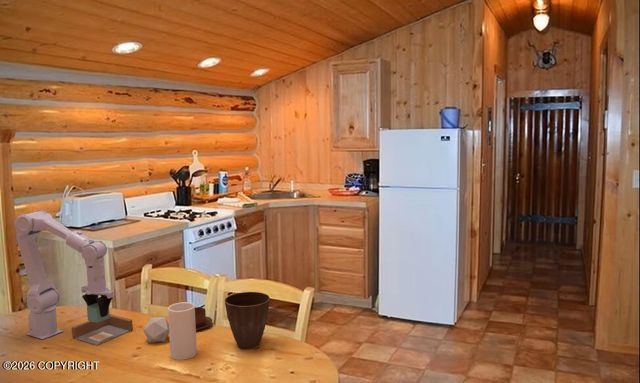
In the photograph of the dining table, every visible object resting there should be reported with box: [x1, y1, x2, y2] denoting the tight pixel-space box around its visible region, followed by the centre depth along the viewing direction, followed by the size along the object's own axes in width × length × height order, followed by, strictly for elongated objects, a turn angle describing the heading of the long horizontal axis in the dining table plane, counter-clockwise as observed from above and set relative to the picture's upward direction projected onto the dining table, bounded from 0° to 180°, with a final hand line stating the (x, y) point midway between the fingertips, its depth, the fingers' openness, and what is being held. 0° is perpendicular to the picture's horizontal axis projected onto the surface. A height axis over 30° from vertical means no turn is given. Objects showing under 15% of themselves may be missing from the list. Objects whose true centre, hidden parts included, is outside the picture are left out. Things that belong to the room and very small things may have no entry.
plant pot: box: [224, 291, 271, 350], centre depth 173 cm, size 15×15×16 cm
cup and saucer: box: [195, 306, 213, 331], centre depth 190 cm, size 12×12×6 cm
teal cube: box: [86, 303, 110, 323], centre depth 179 cm, size 5×5×5 cm
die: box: [142, 316, 169, 343], centre depth 178 cm, size 8×9×10 cm
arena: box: [71, 313, 134, 346], centre depth 184 cm, size 13×15×4 cm
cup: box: [167, 301, 198, 361], centre depth 166 cm, size 8×8×16 cm
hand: (98, 314), depth 180 cm, fingers closed on teal cube, 5 cm apart
